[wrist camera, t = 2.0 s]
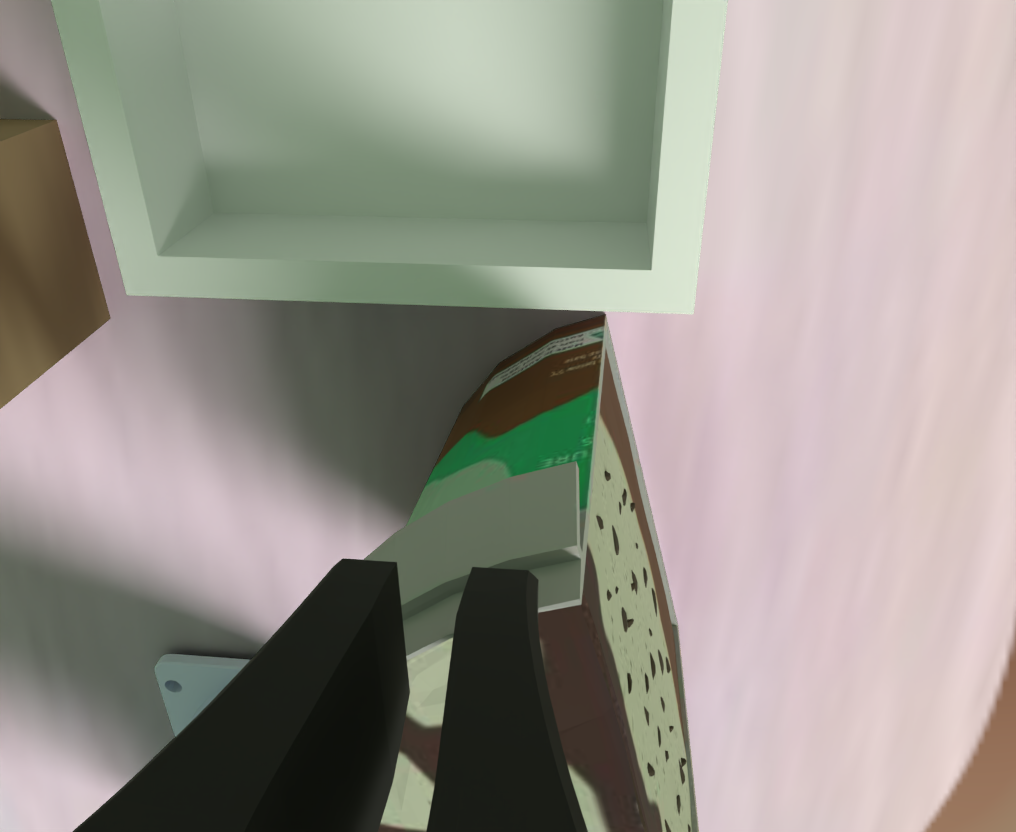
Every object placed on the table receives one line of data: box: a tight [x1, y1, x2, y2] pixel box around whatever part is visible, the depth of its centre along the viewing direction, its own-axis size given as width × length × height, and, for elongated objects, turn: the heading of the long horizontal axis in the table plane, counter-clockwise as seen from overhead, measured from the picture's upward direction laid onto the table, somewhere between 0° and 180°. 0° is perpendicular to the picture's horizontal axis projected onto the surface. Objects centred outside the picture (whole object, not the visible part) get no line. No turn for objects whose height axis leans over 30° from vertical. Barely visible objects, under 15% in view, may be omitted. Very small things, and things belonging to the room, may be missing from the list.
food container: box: [364, 314, 699, 832], centre depth 17 cm, size 12×6×10 cm, turn 15°
